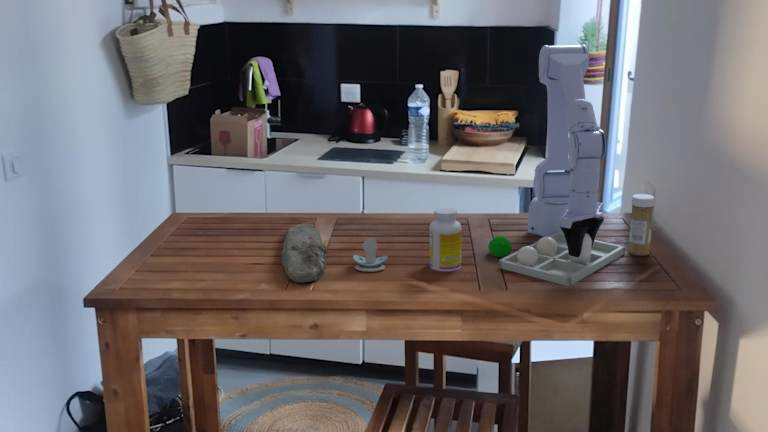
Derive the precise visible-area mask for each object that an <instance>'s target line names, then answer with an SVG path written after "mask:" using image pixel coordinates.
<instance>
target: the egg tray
mask: <svg viewBox="0 0 768 432" xmlns="http://www.w3.org/2000/svg"><path fill="white" fill-rule="evenodd" d="M548 237H551V238H553V239H554V240H555V241H556V243H557V251H556V253H555V254H554V255H553V256H551V257H550V256H545V255H541V254H539V253H538V261H537V263H536V264H535V265H534V266H532V267H529V266H525V265H521V264H520V263H519V262H518V260H517V253H518V251H519V250H517V251H515V252H513V253H510V254H509V255H508V256H506V257H501V259H500V258H499V259H498V269H501V270H505V271H509V272H512V273H517V274H521V275H524V276H529V277H531V278H536V279H538V280H539V279H540V280H542V281H543V280H544V281H546V282H551V283H555V284H558V285H562V286H566V287H568V288H569V287H571V286H573V285H575V284H576V283H578V282H580V281H582V280H583V279H585V278H587V277H588V276H590V275H592V274H593V273H595V272H597V271H598V270H600V269H601V268H604V267H605V266H606V265H608V264H610V263H612V262H613V261H615V260H617V259H618V258H620V257H622V256H623V255H625V253H626V246H623V245H620V244H615V243H609V242H605V241H600V240H597V239H595V240H594V243H593V246H592V249H591V261H590V262H589V263H586V264H578V263H574V262H571V261H569V252H568V247H567V242H566V239H565V236H564V233H560V232H556V233H554V234H552V235H550V236H548ZM537 243H538V241H535V242H534V243H531V244H530V245H528V246H531V247H533V248H535V249H536V251H537ZM537 252H538V251H537Z"/></svg>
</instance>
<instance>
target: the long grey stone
mask: <svg viewBox="0 0 768 432" xmlns="http://www.w3.org/2000/svg"><path fill="white" fill-rule="evenodd" d="M281 245H282V246H283V247H282V249H281V250H282V251H281V253H280V254H281V255H280V256H281V259H280V260H281V261H280V262H281V265H282V266H283V268H284V272H285V274H286V276H287V277H288V278H289V280H291V281H293V282H295V283H298V284H300V283H301V284H302V283H308V282H313V281H318V280H319V277H320V276H323V275H324V274H325V269H326V267H327V261H326V260H327V259H326V258H327V255H326V254H327V253H328V251H329V250H328V247H327V246H326V245H324V244H323V239H322V237H321V232H320V231H319V230H318V229H317V225H315V224H312V223H309V222H308V223H307V222H305V223H304V222H302V223H300V224H298V223H297V224H295V225H293V226H291V227H289V228H288V229H287V231H286V233H285V236H284V241H283V242H282V244H281Z"/></svg>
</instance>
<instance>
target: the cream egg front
mask: <svg viewBox="0 0 768 432" xmlns="http://www.w3.org/2000/svg"><path fill="white" fill-rule="evenodd" d="M517 251H518V253H517V260H518V262H519V263H520V264H521V265H525V266H529V267H532V266H534V265H535V264H536V263H537V261H538V252H537V251H536V249H535V248H533V247H531V246H529V245H525V246H522V247H521V248H519V250H517Z"/></svg>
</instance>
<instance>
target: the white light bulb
mask: <svg viewBox="0 0 768 432" xmlns="http://www.w3.org/2000/svg"><path fill="white" fill-rule="evenodd" d="M591 247H592V240H591V237H590V236H589V234H587V233H586V234H585V236H584V239H583V243H582V250H581V254H580V256H579V257H574V256H570V255H569V261H571V262H574V263H578V264H586V263H589V262H590V261H591Z"/></svg>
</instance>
